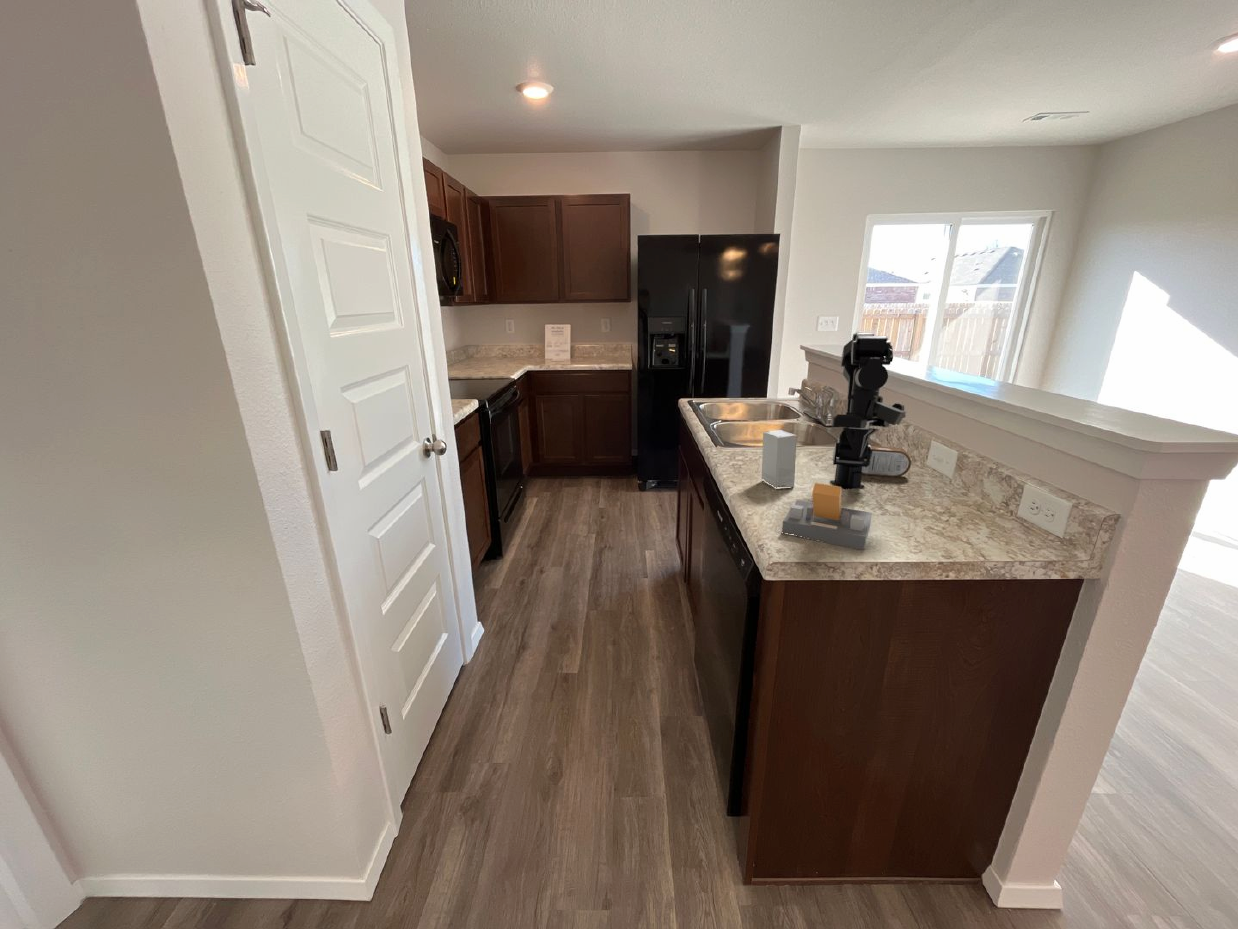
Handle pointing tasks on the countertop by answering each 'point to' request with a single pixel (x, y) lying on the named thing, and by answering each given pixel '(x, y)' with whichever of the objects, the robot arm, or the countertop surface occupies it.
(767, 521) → the countertop surface
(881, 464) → the tin
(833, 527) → the box
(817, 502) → the lever
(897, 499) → the countertop surface
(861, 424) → the robot arm
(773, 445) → the skincare box
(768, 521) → the countertop surface
